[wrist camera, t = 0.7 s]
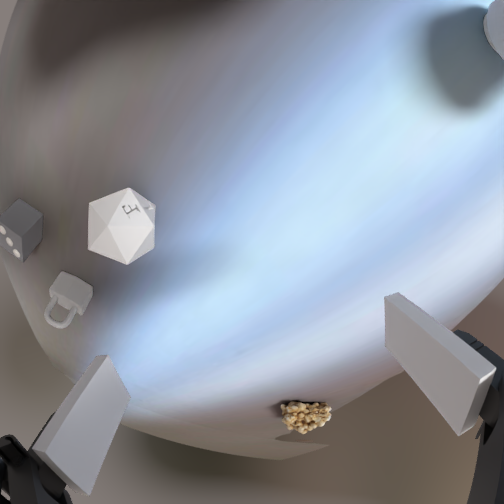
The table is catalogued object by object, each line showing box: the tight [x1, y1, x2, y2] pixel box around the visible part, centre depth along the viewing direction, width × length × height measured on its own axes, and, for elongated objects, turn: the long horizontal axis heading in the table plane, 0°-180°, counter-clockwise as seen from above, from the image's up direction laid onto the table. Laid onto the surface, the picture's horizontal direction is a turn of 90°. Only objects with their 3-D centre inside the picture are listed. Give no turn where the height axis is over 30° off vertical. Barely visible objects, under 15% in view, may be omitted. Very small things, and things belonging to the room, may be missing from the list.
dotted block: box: [0, 198, 43, 262], centre depth 33 cm, size 6×6×6 cm
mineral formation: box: [280, 401, 331, 434], centre depth 66 cm, size 8×13×15 cm
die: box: [88, 188, 155, 265], centre depth 29 cm, size 8×9×10 cm
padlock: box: [44, 271, 93, 329], centre depth 39 cm, size 7×4×10 cm, turn 64°
